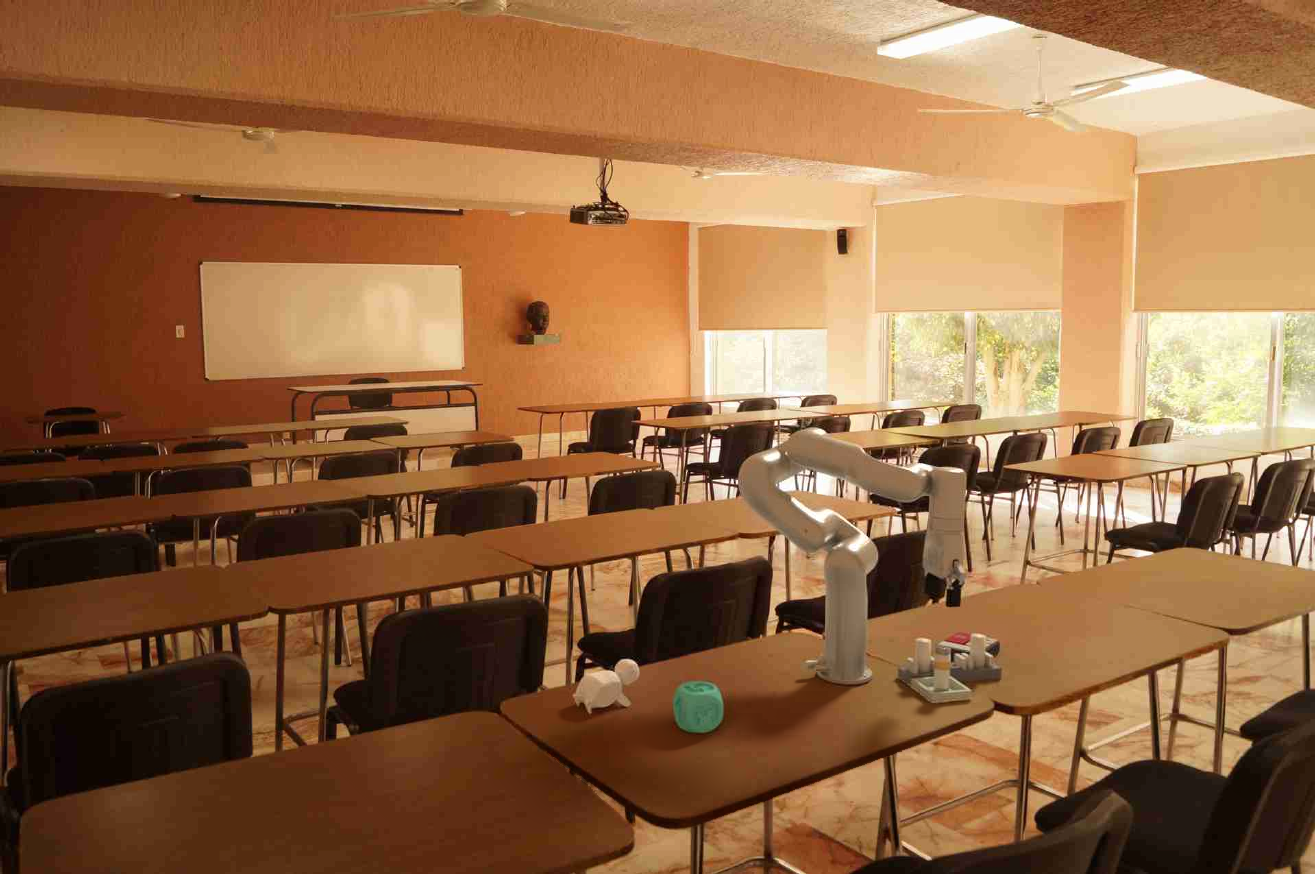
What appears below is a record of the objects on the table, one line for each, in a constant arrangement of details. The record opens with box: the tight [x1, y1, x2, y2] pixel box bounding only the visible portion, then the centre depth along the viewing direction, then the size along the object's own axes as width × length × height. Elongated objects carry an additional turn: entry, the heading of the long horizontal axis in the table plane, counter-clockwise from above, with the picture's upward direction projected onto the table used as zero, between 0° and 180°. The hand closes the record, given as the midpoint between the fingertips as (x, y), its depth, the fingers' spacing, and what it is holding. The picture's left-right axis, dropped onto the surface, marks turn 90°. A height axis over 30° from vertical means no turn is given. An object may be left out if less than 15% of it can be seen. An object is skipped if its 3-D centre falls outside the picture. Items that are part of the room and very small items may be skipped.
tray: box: [910, 676, 973, 702], centre depth 216 cm, size 9×9×2 cm
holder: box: [897, 633, 1003, 685], centre depth 225 cm, size 23×6×10 cm, turn 104°
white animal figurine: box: [572, 658, 640, 715], centre depth 210 cm, size 9×8×15 cm
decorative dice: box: [672, 680, 724, 734], centre depth 199 cm, size 8×8×8 cm
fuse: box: [933, 644, 951, 692], centre depth 215 cm, size 3×3×10 cm
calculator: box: [935, 631, 1001, 662], centre depth 241 cm, size 11×4×15 cm
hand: (941, 600), depth 215 cm, fingers open, 9 cm apart
